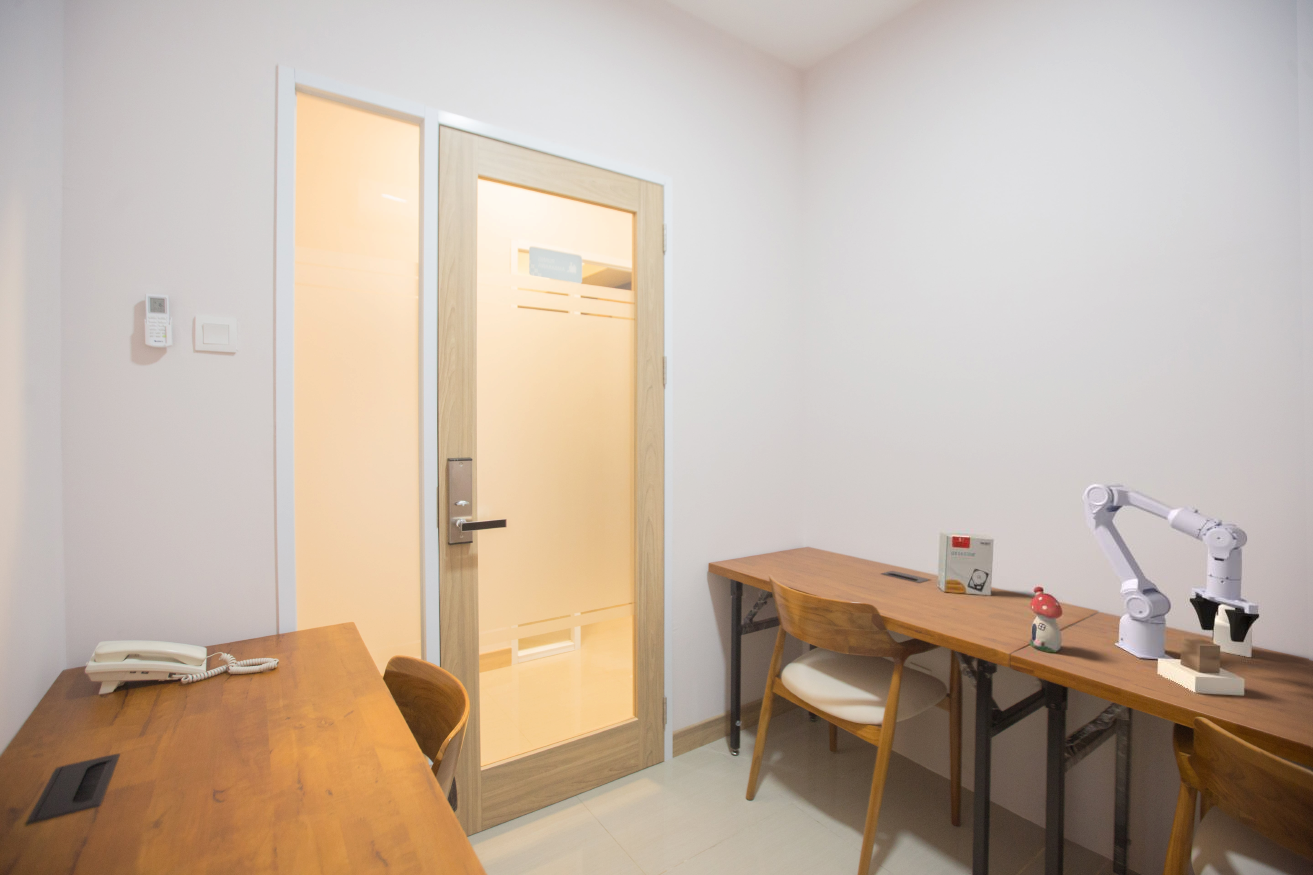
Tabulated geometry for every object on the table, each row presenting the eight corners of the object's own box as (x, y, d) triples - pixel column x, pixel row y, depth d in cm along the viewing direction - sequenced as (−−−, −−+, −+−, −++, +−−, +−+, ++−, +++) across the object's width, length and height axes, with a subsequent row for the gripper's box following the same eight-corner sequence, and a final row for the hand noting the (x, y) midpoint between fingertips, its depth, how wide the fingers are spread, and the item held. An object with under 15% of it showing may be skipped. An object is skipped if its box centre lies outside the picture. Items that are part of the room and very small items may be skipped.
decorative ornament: (1026, 639, 155) (1027, 583, 155) (1055, 643, 153) (1056, 586, 153) (1034, 651, 147) (1036, 592, 146) (1065, 655, 144) (1067, 595, 144)
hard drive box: (943, 592, 201) (945, 535, 201) (936, 587, 208) (938, 531, 208) (992, 595, 198) (994, 537, 198) (983, 590, 206) (985, 534, 206)
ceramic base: (1157, 675, 134) (1158, 658, 134) (1202, 677, 134) (1203, 660, 134) (1194, 694, 124) (1195, 676, 124) (1243, 697, 124) (1244, 678, 124)
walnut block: (1180, 664, 131) (1181, 637, 131) (1200, 664, 131) (1200, 638, 131) (1199, 672, 127) (1199, 645, 126) (1219, 672, 127) (1220, 645, 126)
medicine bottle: (1213, 643, 156) (1214, 599, 156) (1251, 651, 151) (1252, 605, 150) (1212, 650, 151) (1213, 604, 151) (1251, 658, 146) (1252, 610, 145)
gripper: (1179, 568, 141) (1177, 624, 141) (1234, 584, 127) (1232, 646, 127) (1209, 569, 141) (1207, 625, 141) (1269, 585, 126) (1267, 647, 126)
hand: (1221, 635), depth 134 cm, fingers open, 7 cm apart
